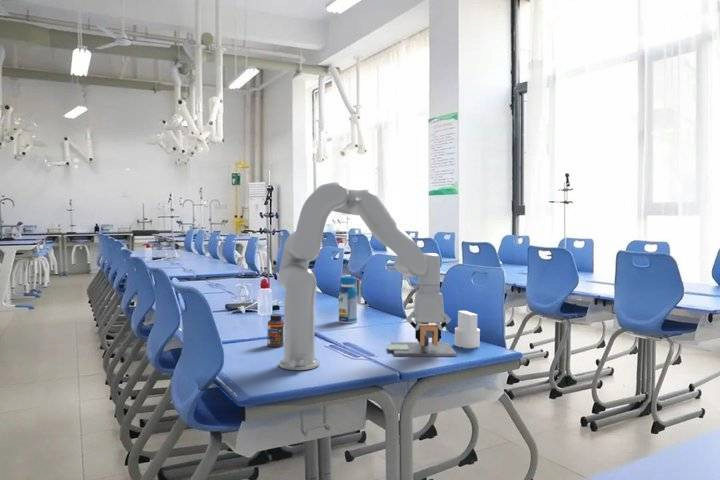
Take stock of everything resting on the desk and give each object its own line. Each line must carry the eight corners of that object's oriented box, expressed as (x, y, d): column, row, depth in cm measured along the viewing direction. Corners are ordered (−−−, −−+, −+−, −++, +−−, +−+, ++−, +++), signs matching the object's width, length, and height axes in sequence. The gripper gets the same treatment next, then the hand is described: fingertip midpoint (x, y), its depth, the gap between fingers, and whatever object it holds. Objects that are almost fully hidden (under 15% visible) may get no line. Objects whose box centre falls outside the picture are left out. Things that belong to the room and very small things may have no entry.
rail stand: (456, 356, 186) (456, 330, 186) (390, 356, 186) (390, 329, 186) (448, 345, 202) (448, 320, 202) (386, 345, 202) (387, 320, 202)
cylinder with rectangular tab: (450, 343, 205) (450, 311, 205) (471, 341, 208) (471, 310, 208) (462, 349, 197) (463, 315, 196) (484, 347, 200) (485, 314, 199)
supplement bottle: (268, 348, 197) (268, 316, 196) (266, 344, 202) (266, 313, 202) (285, 347, 198) (285, 315, 198) (282, 343, 204) (282, 312, 203)
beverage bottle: (357, 323, 240) (357, 278, 240) (337, 323, 241) (337, 278, 240) (357, 320, 249) (357, 276, 248) (338, 319, 249) (339, 275, 248)
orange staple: (437, 345, 189) (437, 326, 188) (420, 345, 189) (420, 326, 188) (435, 343, 193) (436, 324, 192) (418, 343, 193) (418, 324, 192)
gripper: (404, 290, 186) (404, 343, 187) (455, 290, 186) (455, 343, 187) (402, 287, 193) (402, 338, 194) (451, 287, 194) (451, 338, 195)
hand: (428, 340), depth 191 cm, fingers closed on orange staple, 6 cm apart
